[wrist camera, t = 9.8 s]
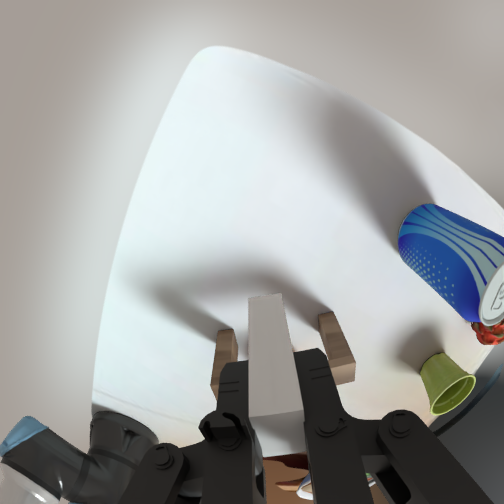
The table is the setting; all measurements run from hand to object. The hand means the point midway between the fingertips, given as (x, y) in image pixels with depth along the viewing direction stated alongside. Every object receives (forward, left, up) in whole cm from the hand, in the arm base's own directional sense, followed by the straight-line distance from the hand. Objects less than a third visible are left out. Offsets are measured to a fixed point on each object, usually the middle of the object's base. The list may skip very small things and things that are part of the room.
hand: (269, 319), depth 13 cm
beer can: (+20, -5, -19) cm, 28 cm away
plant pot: (+27, -31, -19) cm, 45 cm away
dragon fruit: (+37, -22, -19) cm, 47 cm away
